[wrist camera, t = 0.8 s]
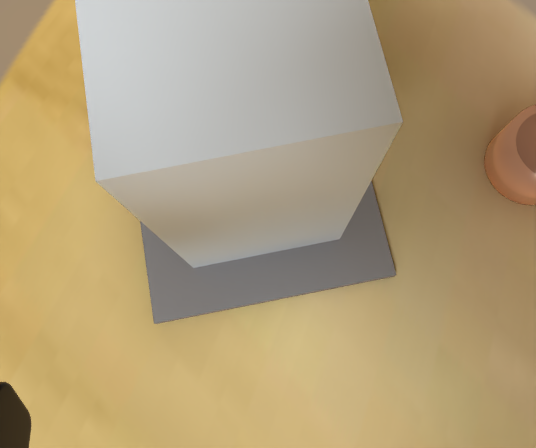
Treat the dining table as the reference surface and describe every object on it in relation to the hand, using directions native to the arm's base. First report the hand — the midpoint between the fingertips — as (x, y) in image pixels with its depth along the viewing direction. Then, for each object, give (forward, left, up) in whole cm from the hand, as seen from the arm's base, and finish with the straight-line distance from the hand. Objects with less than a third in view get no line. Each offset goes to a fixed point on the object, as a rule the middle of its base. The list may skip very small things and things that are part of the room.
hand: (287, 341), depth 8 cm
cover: (+8, 0, -14) cm, 16 cm away
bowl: (+6, -13, -14) cm, 20 cm away
